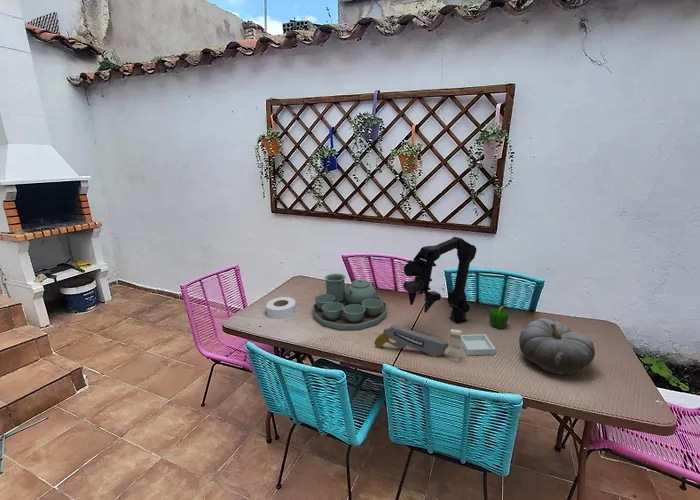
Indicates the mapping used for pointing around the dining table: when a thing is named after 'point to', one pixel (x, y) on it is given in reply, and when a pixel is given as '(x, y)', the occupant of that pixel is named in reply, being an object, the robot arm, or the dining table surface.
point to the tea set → (349, 304)
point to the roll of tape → (281, 307)
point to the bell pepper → (498, 317)
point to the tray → (477, 345)
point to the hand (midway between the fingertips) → (418, 308)
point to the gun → (412, 340)
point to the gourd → (556, 347)
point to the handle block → (454, 345)
